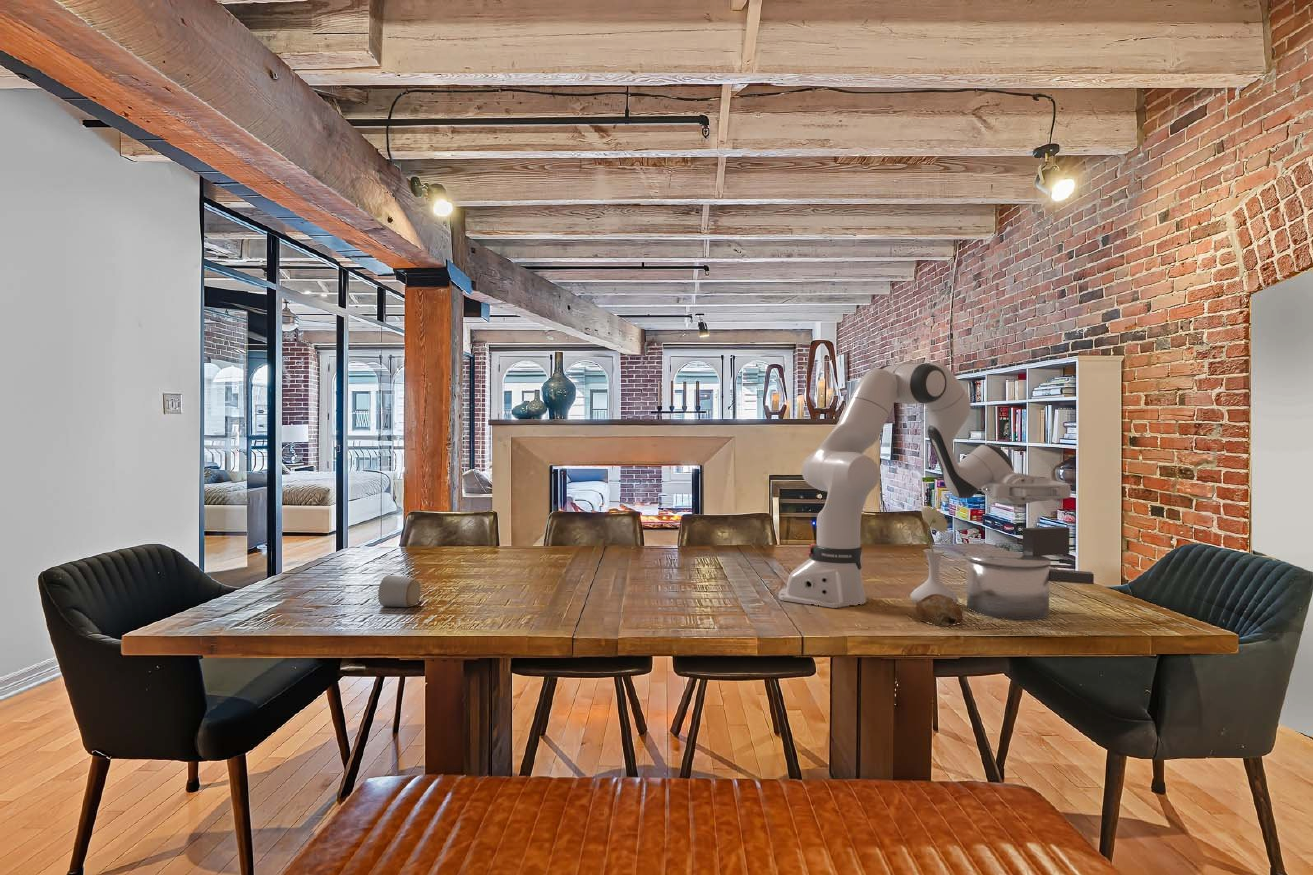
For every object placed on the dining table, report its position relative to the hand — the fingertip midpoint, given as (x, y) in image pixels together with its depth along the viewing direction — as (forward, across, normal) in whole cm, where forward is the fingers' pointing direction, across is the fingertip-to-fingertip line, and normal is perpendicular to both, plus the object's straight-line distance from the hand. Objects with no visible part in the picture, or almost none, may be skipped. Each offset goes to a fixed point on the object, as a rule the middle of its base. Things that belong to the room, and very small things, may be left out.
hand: (1043, 493), depth 177 cm
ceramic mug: (+12, -166, +28) cm, 169 cm away
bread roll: (+21, -36, +28) cm, 50 cm away
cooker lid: (+10, -11, +16) cm, 21 cm away
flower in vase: (+6, -31, +28) cm, 42 cm away
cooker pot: (+13, -11, +28) cm, 33 cm away
